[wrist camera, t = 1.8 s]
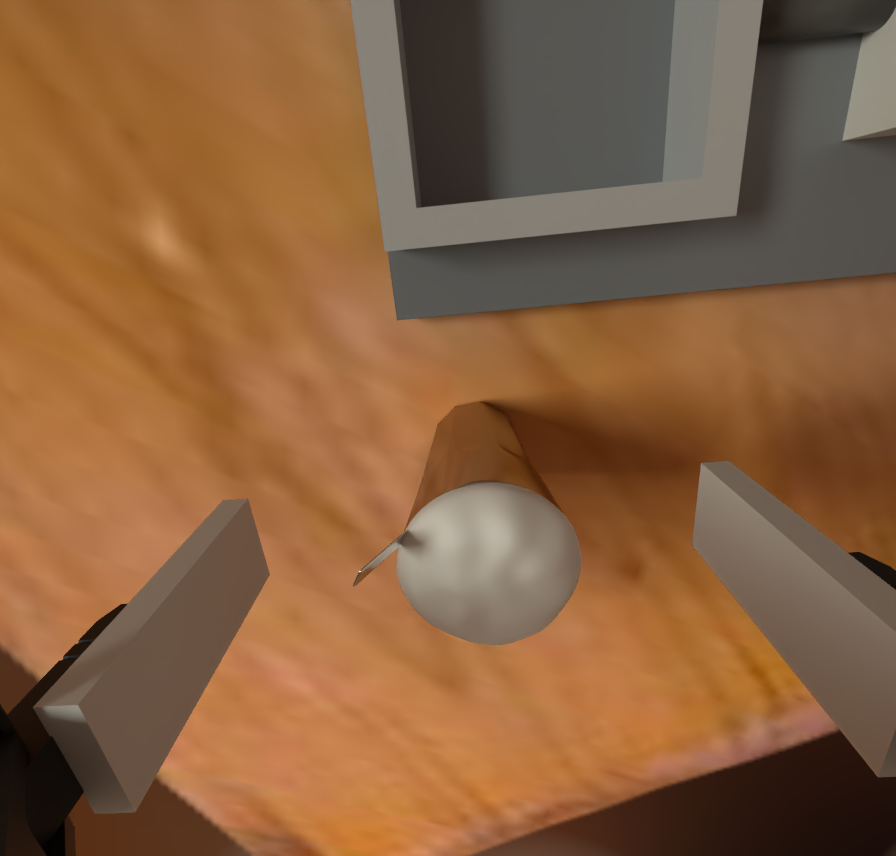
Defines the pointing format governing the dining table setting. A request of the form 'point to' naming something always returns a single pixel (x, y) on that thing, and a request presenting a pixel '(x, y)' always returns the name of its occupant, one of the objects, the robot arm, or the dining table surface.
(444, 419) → the milkshake
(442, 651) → the dining table surface
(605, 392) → the dining table surface
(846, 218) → the dock
